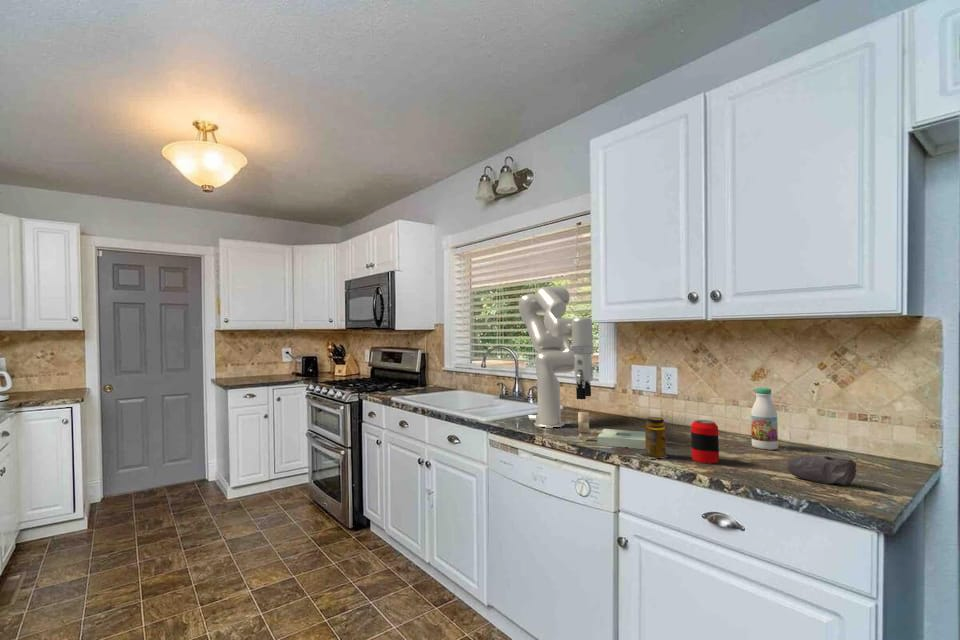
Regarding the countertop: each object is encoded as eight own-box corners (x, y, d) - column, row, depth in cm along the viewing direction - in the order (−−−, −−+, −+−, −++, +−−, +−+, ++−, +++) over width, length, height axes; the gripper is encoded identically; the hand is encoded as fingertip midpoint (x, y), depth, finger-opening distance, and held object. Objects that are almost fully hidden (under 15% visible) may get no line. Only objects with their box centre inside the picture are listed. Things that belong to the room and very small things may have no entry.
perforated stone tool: (784, 478, 127) (783, 452, 127) (788, 474, 131) (787, 448, 131) (855, 490, 116) (854, 462, 117) (857, 485, 120) (856, 458, 120)
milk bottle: (751, 443, 165) (750, 386, 165) (777, 446, 161) (776, 387, 161) (751, 448, 158) (749, 389, 159) (778, 451, 154) (777, 390, 155)
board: (597, 445, 166) (597, 436, 166) (604, 436, 178) (603, 428, 178) (645, 449, 159) (645, 440, 159) (648, 440, 172) (648, 432, 172)
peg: (577, 440, 172) (577, 413, 173) (579, 438, 176) (579, 411, 176) (588, 441, 171) (587, 414, 171) (590, 439, 174) (589, 412, 175)
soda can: (686, 459, 147) (685, 420, 147) (704, 456, 149) (703, 418, 150) (705, 465, 140) (704, 424, 140) (724, 462, 142) (723, 422, 143)
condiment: (671, 457, 149) (671, 419, 149) (652, 460, 145) (651, 421, 146) (654, 452, 156) (653, 415, 156) (634, 455, 152) (634, 417, 152)
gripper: (588, 351, 165) (589, 400, 164) (597, 350, 180) (598, 395, 180) (567, 351, 168) (568, 400, 167) (577, 350, 184) (578, 394, 183)
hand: (583, 397), depth 173 cm, fingers open, 9 cm apart
